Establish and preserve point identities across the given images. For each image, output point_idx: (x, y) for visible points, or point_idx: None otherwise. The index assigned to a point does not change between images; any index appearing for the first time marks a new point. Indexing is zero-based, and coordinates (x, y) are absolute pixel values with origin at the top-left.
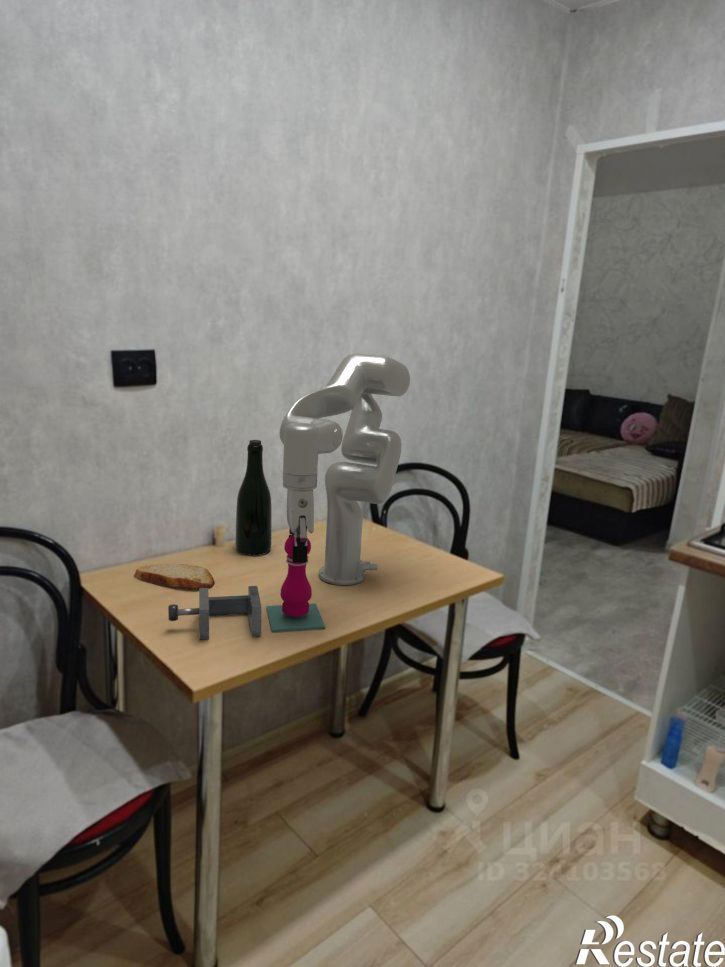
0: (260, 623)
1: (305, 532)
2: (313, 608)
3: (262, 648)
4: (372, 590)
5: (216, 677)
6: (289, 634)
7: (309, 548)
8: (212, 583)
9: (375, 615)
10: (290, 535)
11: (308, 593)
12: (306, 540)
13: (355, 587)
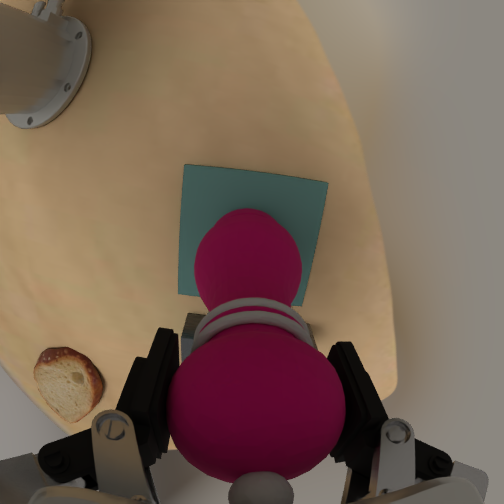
0: (315, 343)
1: (482, 497)
2: (215, 180)
3: (352, 326)
4: (137, 3)
5: (389, 379)
6: (323, 270)
7: (327, 370)
8: (76, 356)
9: (286, 30)
10: (160, 455)
11: (292, 243)
12: (446, 457)
13: (106, 39)
